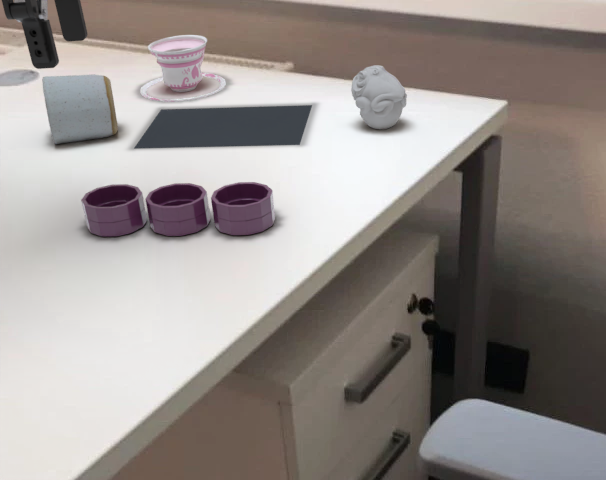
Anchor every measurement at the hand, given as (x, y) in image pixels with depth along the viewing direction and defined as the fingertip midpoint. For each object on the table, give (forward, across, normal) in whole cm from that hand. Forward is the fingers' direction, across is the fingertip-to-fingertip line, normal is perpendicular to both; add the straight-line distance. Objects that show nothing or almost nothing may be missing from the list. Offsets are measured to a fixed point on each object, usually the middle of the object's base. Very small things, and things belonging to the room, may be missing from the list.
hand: (62, 53), depth 80 cm
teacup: (+16, -42, 0) cm, 45 cm away
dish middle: (+16, +2, +9) cm, 19 cm away
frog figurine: (+17, -25, +27) cm, 41 cm away
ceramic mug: (+16, -25, -10) cm, 32 cm away
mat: (+16, -26, +8) cm, 32 cm away
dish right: (+16, +2, +15) cm, 23 cm away
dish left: (+16, +2, +2) cm, 17 cm away
